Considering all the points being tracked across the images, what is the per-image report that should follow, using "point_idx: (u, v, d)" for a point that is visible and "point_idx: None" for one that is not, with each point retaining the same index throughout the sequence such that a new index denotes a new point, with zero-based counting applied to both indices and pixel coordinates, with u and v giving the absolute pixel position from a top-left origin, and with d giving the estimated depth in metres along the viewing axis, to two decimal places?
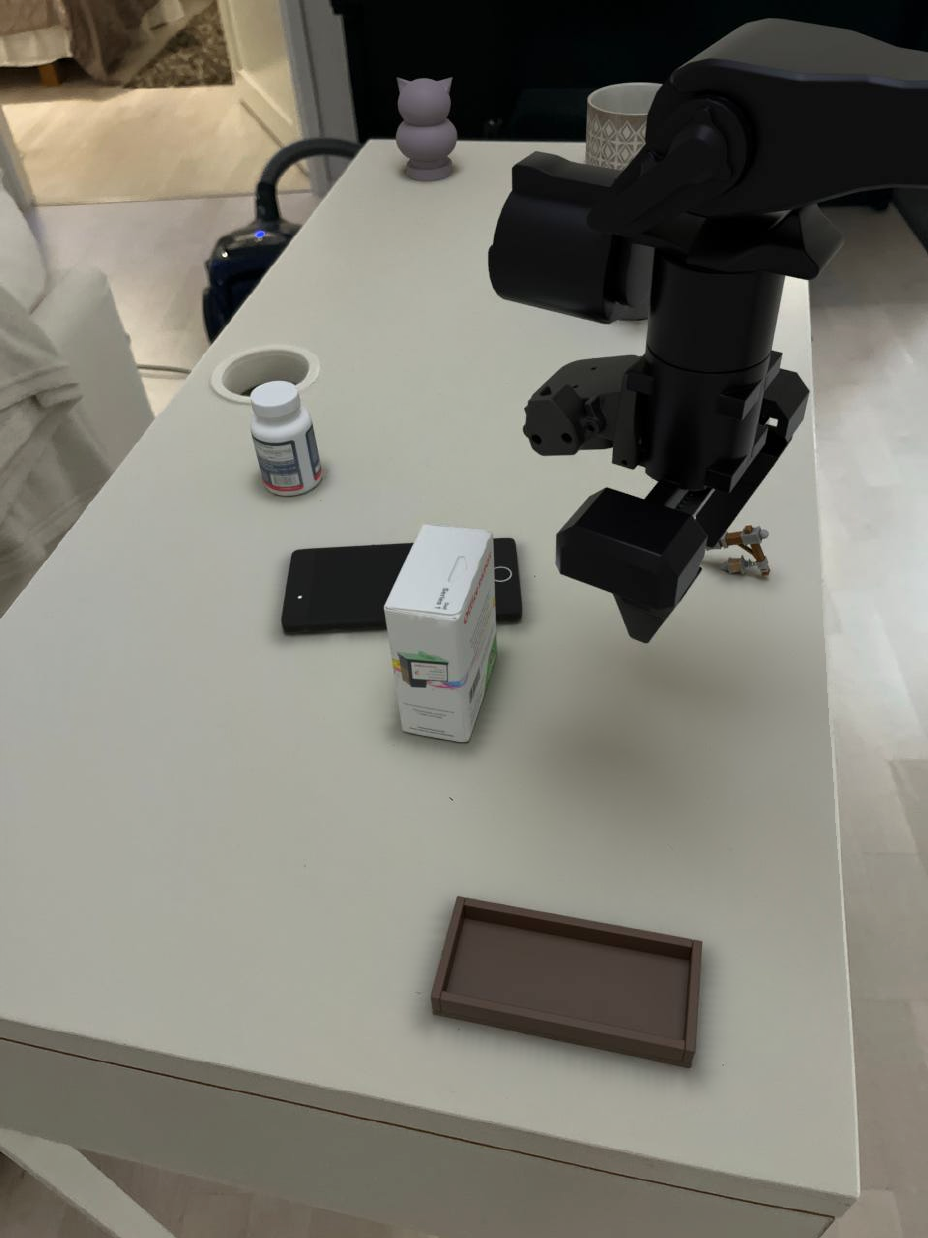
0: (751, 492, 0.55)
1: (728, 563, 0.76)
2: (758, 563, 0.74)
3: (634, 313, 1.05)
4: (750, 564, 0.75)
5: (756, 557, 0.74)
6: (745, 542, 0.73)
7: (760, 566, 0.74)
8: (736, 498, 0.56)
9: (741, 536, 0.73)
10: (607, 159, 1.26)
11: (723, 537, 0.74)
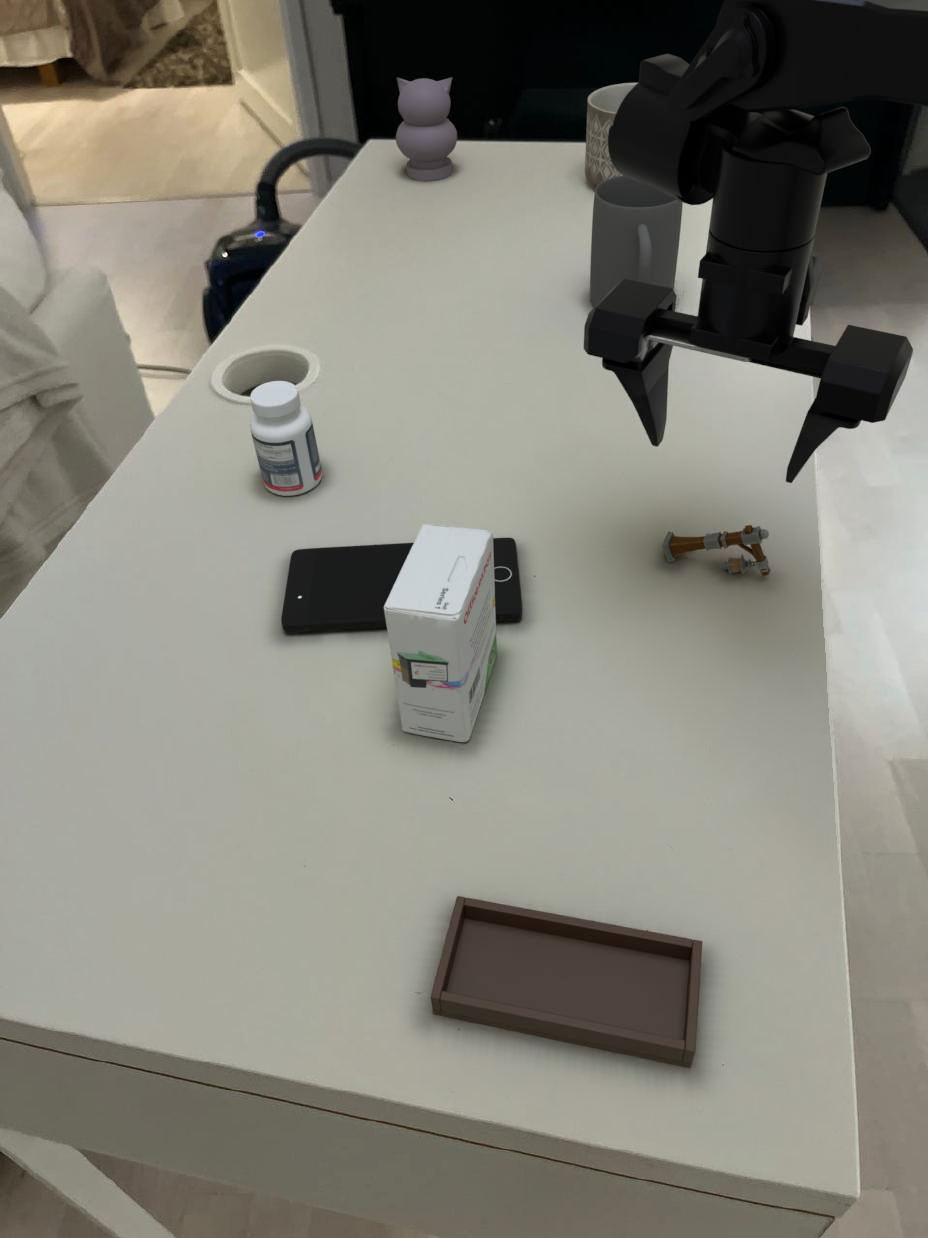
0: None
1: (728, 563, 0.76)
2: (758, 563, 0.74)
3: None
4: (750, 564, 0.75)
5: (756, 557, 0.74)
6: (745, 542, 0.73)
7: (760, 566, 0.74)
8: None
9: (742, 536, 0.73)
10: (607, 159, 1.26)
11: (723, 537, 0.74)
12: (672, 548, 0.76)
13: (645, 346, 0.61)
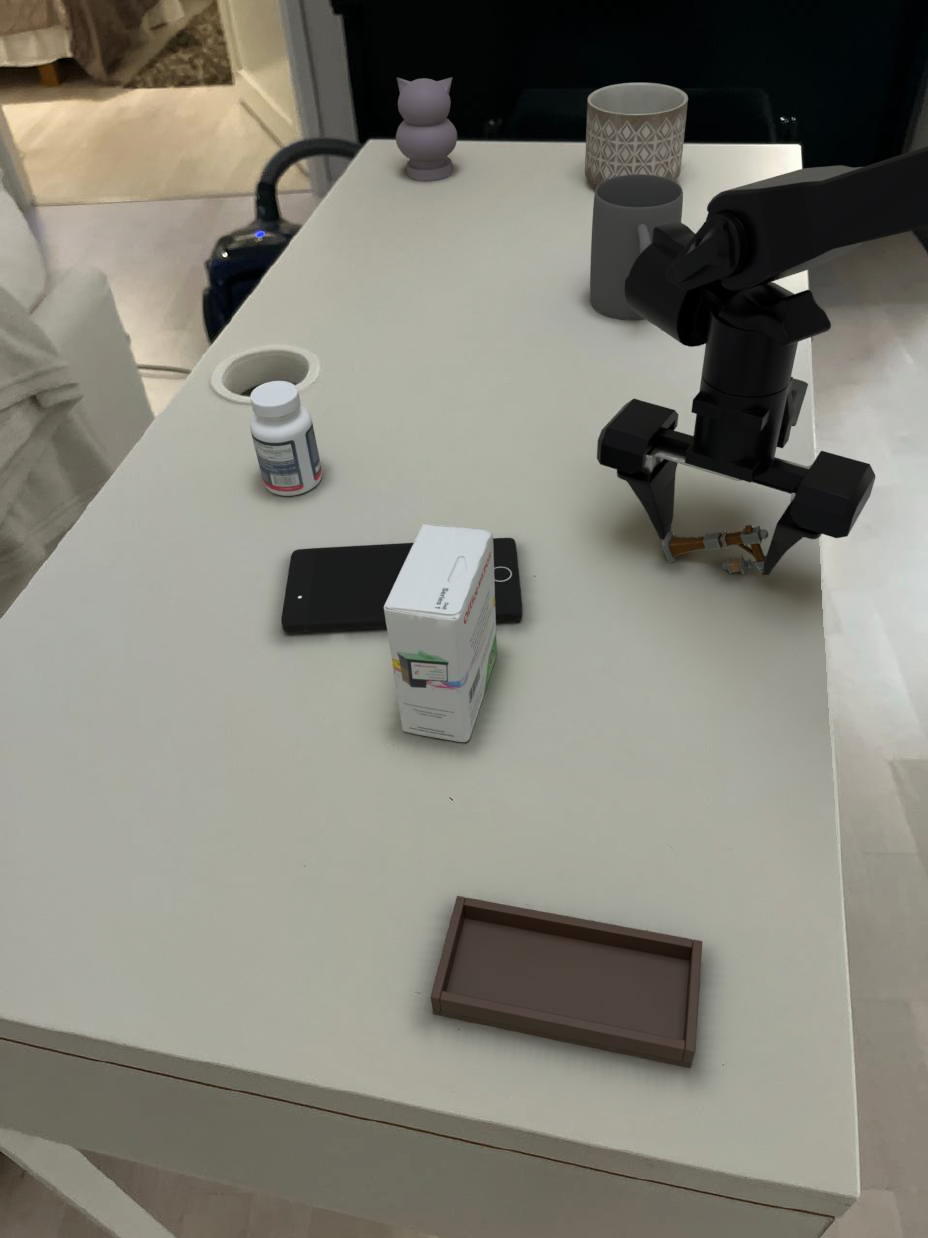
0: None
1: (728, 563, 0.76)
2: (758, 563, 0.74)
3: (634, 313, 1.05)
4: (750, 564, 0.75)
5: (756, 557, 0.74)
6: (745, 542, 0.73)
7: (760, 566, 0.74)
8: None
9: (741, 536, 0.73)
10: (607, 159, 1.26)
11: (723, 537, 0.74)
12: (672, 548, 0.77)
13: (654, 461, 0.72)
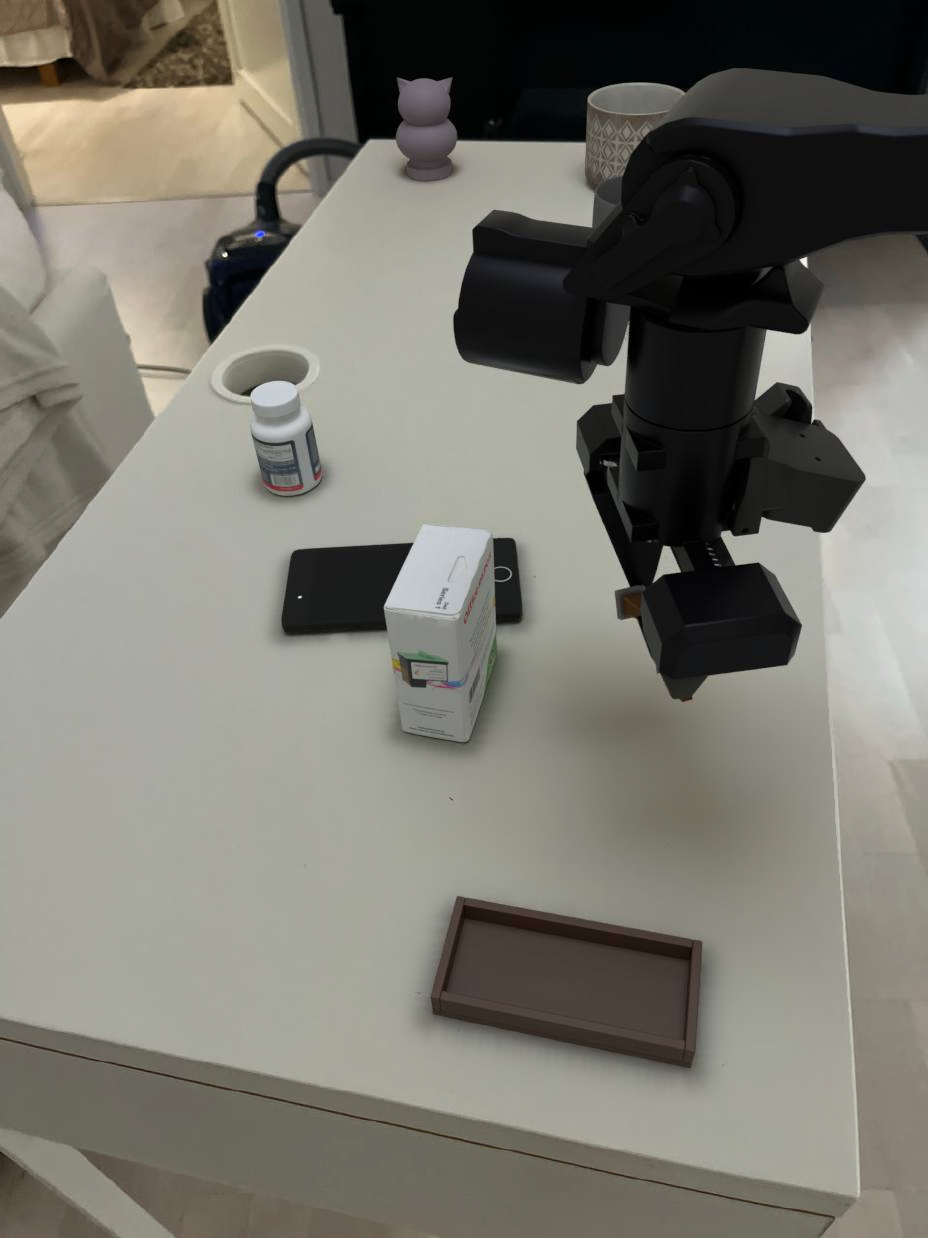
0: None
1: None
2: None
3: None
4: None
5: None
6: None
7: None
8: None
9: None
10: (607, 159, 1.26)
11: None
12: (624, 603, 0.57)
13: None
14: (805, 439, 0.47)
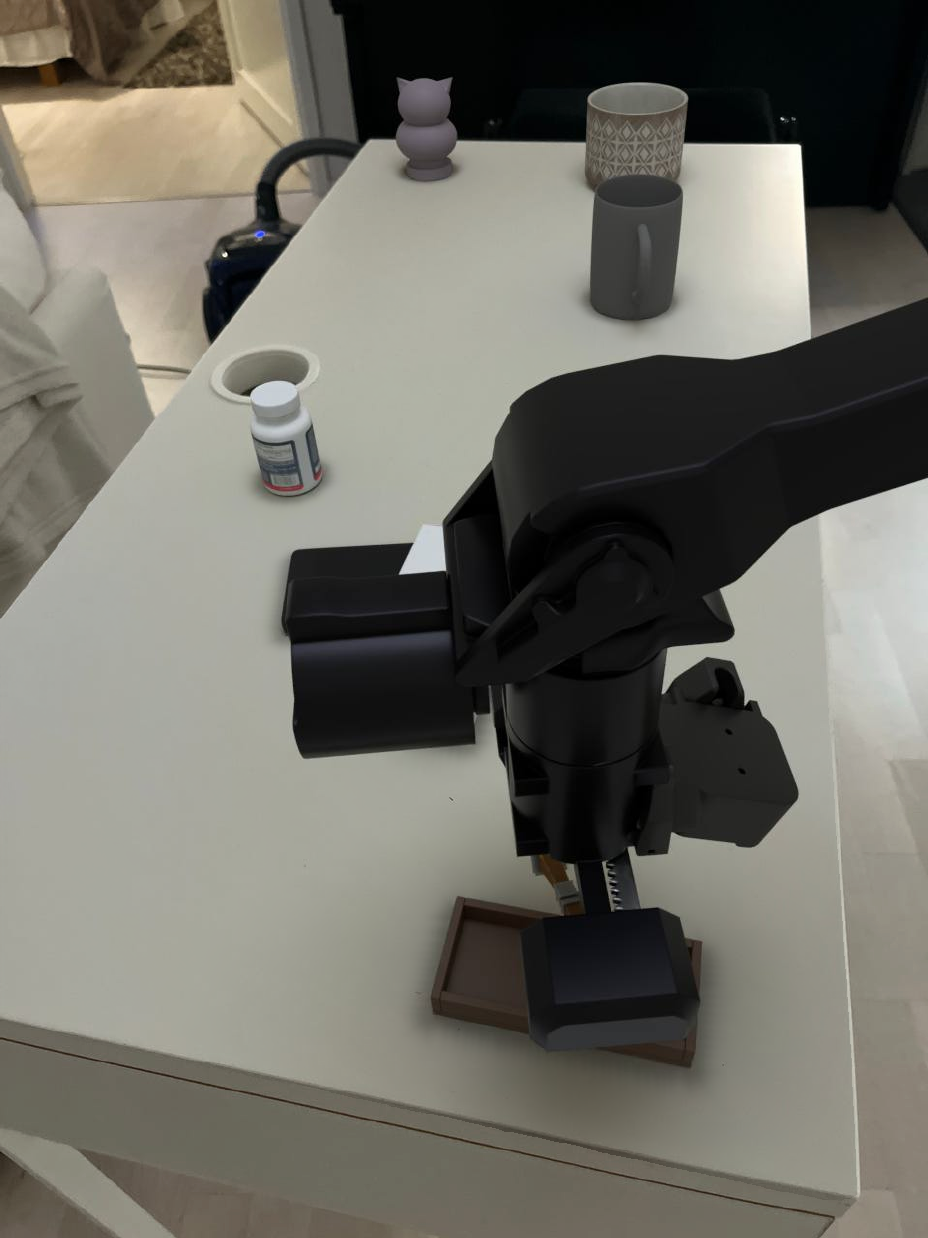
0: None
1: None
2: None
3: (634, 313, 1.05)
4: None
5: None
6: None
7: None
8: None
9: None
10: (607, 159, 1.26)
11: (565, 902, 0.46)
12: (539, 860, 0.50)
13: None
14: (731, 738, 0.40)
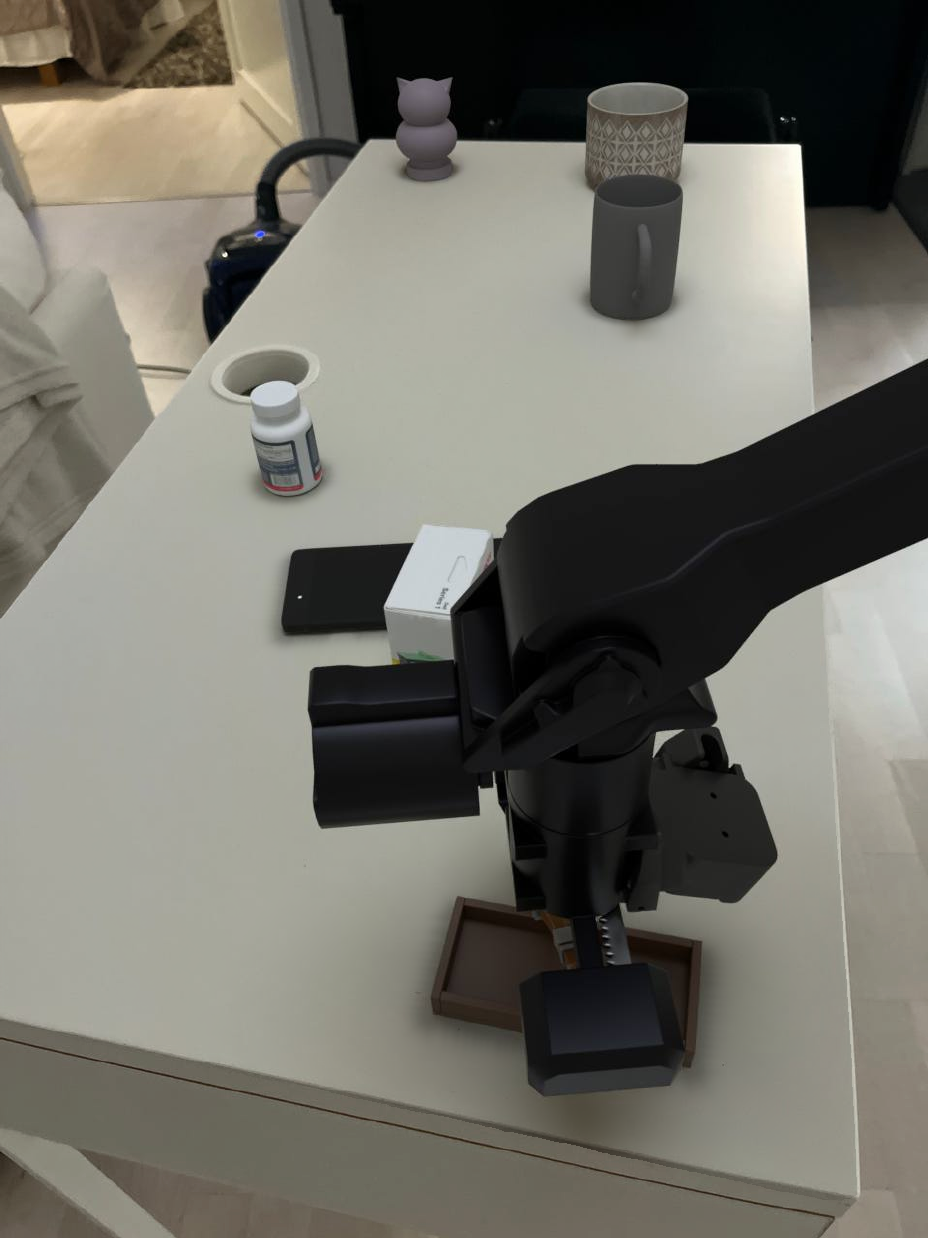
0: None
1: None
2: None
3: (634, 313, 1.05)
4: None
5: None
6: None
7: None
8: None
9: (568, 968, 0.48)
10: (607, 159, 1.26)
11: (563, 948, 0.49)
12: None
13: None
14: (716, 801, 0.43)
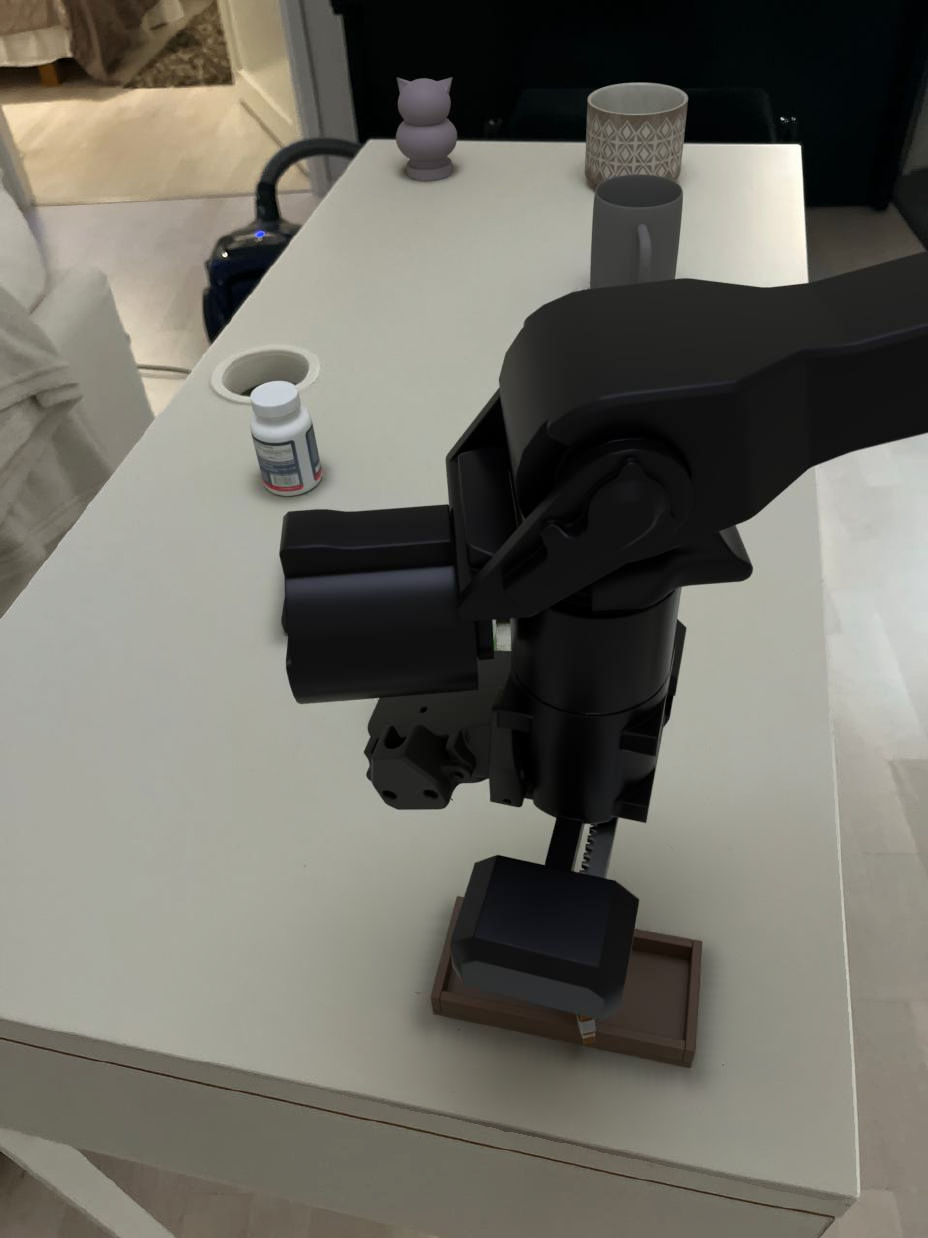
0: None
1: None
2: (577, 1018, 0.48)
3: None
4: None
5: None
6: None
7: (578, 1024, 0.48)
8: None
9: None
10: (607, 159, 1.26)
11: None
12: None
13: None
14: (424, 704, 0.39)
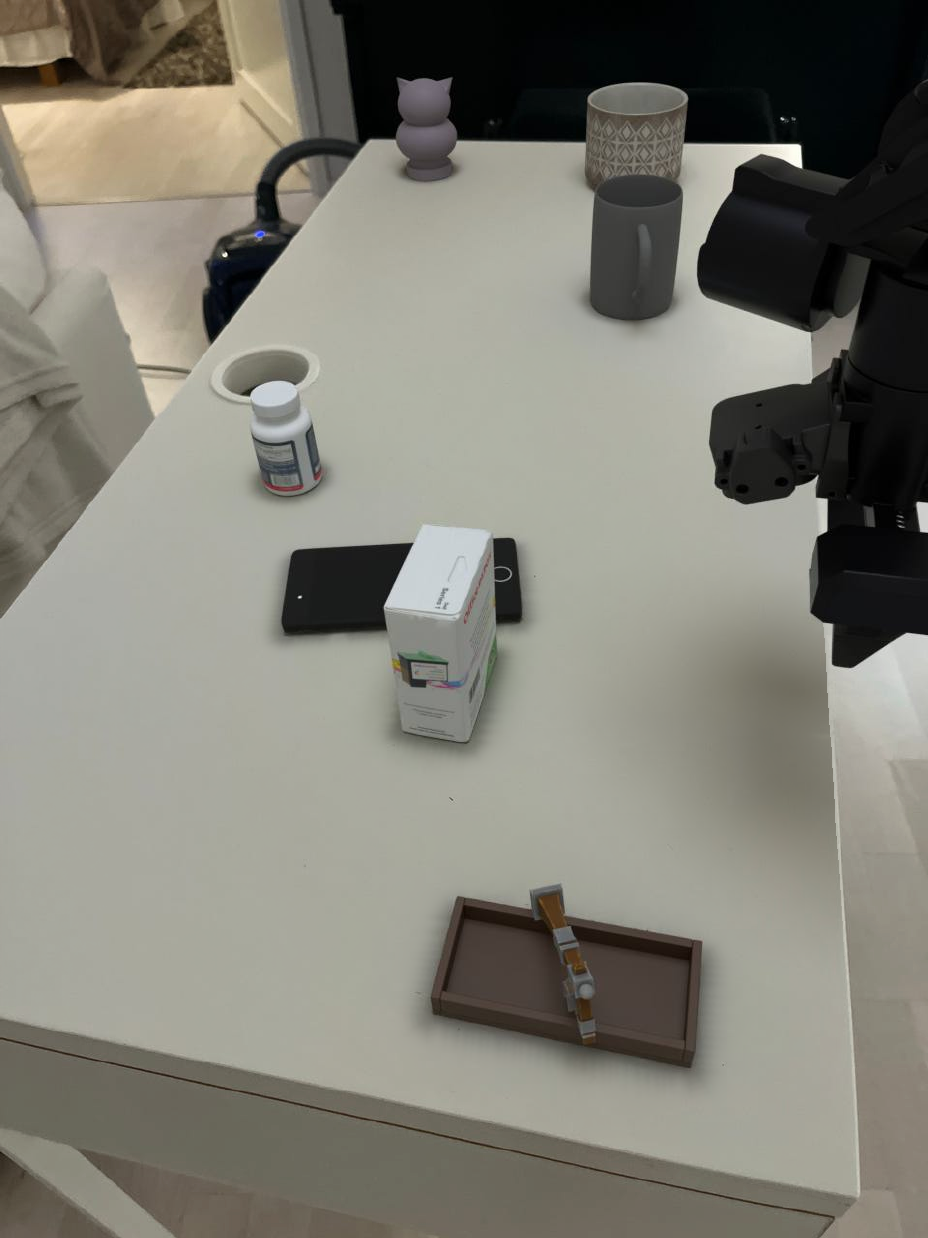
0: None
1: (566, 983, 0.50)
2: (577, 1018, 0.48)
3: (634, 313, 1.05)
4: (578, 1010, 0.49)
5: (578, 1009, 0.48)
6: (569, 979, 0.48)
7: (578, 1024, 0.48)
8: None
9: (568, 968, 0.48)
10: (607, 159, 1.26)
11: (563, 948, 0.49)
12: (539, 905, 0.53)
13: None
14: (757, 424, 0.48)
